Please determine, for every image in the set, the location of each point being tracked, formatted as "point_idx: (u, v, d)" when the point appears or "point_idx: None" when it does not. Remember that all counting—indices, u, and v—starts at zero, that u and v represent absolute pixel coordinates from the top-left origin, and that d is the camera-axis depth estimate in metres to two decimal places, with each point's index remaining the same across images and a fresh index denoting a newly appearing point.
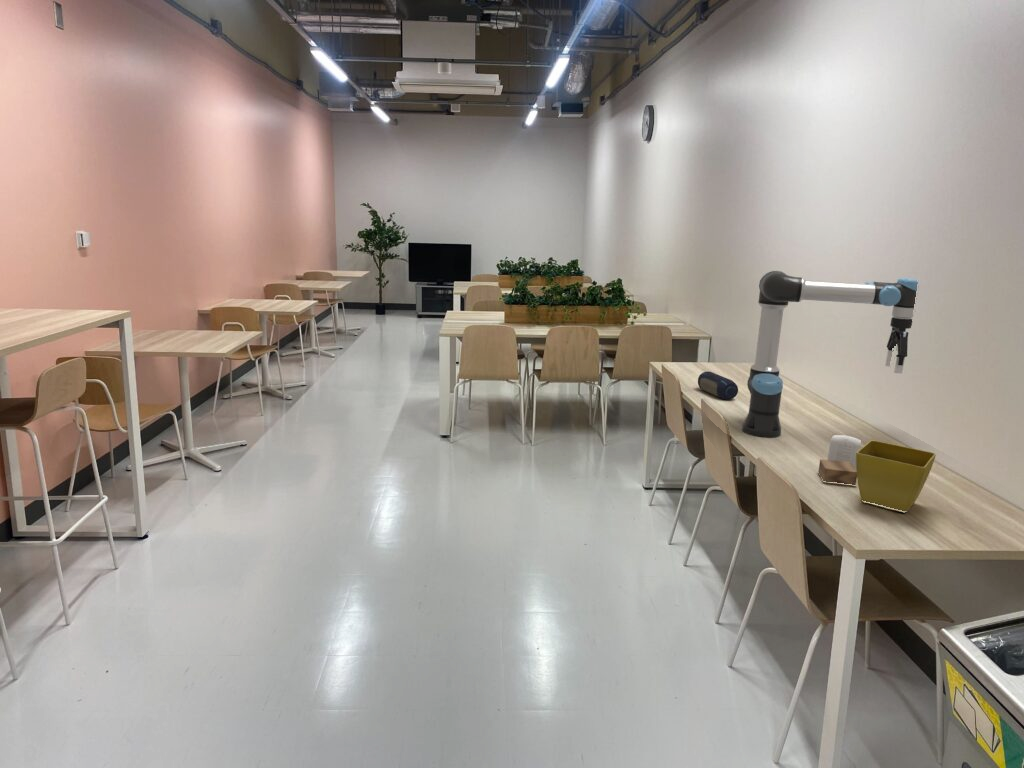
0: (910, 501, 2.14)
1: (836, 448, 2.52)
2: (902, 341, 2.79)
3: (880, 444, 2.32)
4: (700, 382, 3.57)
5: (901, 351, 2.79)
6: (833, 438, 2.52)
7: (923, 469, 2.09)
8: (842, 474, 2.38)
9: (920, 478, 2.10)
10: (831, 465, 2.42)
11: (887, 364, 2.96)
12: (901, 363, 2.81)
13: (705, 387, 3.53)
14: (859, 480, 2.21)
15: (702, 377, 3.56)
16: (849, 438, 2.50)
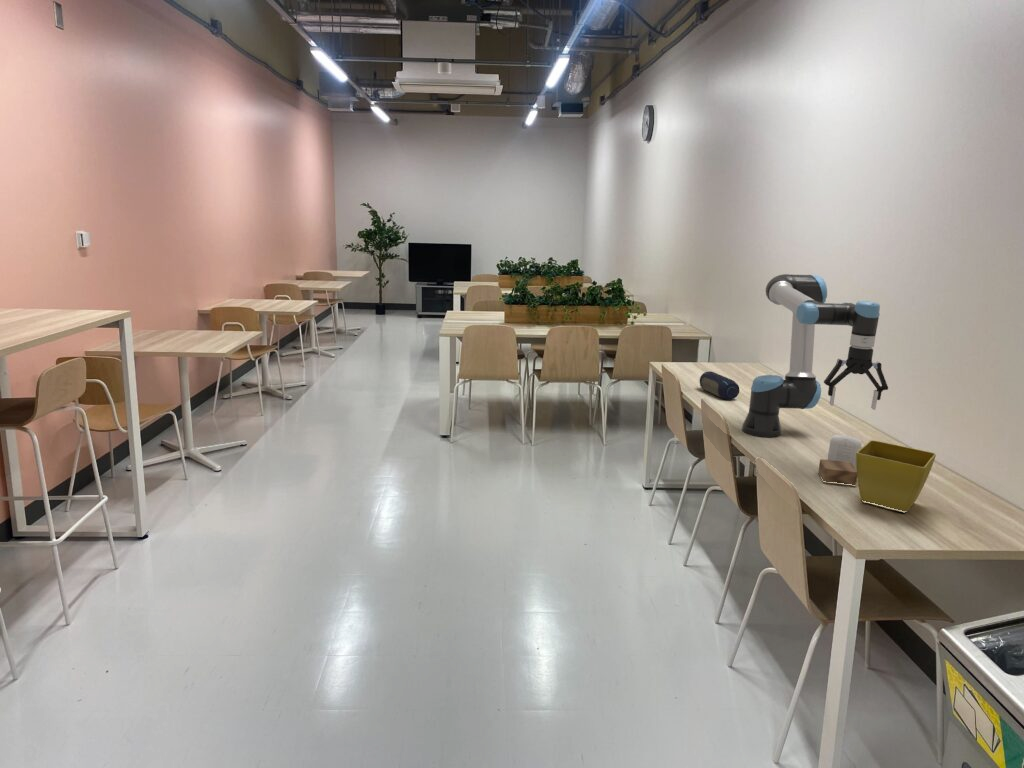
0: (910, 501, 2.14)
1: (836, 448, 2.52)
2: (833, 368, 2.48)
3: (880, 444, 2.32)
4: (702, 382, 3.57)
5: (826, 378, 2.50)
6: (833, 438, 2.52)
7: (923, 469, 2.09)
8: (842, 474, 2.38)
9: (920, 478, 2.10)
10: (831, 465, 2.42)
11: (871, 406, 2.48)
12: (828, 393, 2.49)
13: (707, 387, 3.53)
14: (859, 480, 2.21)
15: (704, 377, 3.56)
16: (849, 438, 2.50)
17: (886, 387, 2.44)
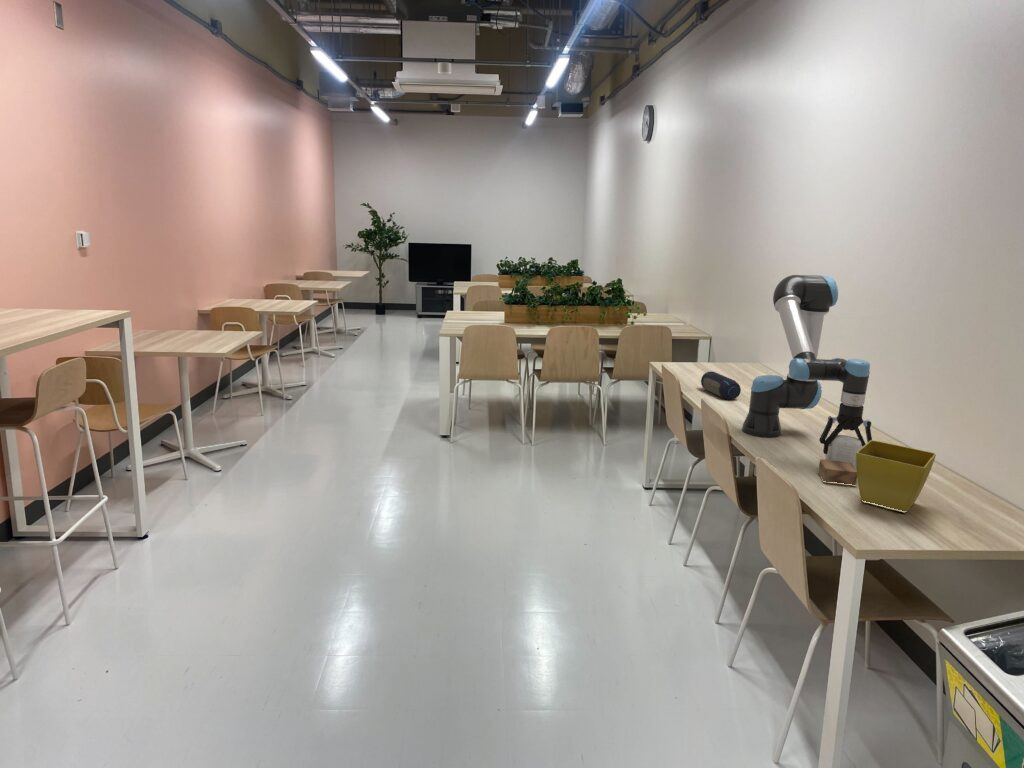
0: (910, 501, 2.14)
1: (836, 448, 2.52)
2: (826, 426, 2.53)
3: (880, 444, 2.32)
4: (703, 382, 3.57)
5: (821, 436, 2.54)
6: None
7: (923, 469, 2.09)
8: (842, 474, 2.38)
9: (920, 478, 2.10)
10: (831, 465, 2.42)
11: None
12: (823, 451, 2.54)
13: (708, 387, 3.54)
14: (859, 480, 2.21)
15: (705, 377, 3.57)
16: (849, 438, 2.50)
17: None
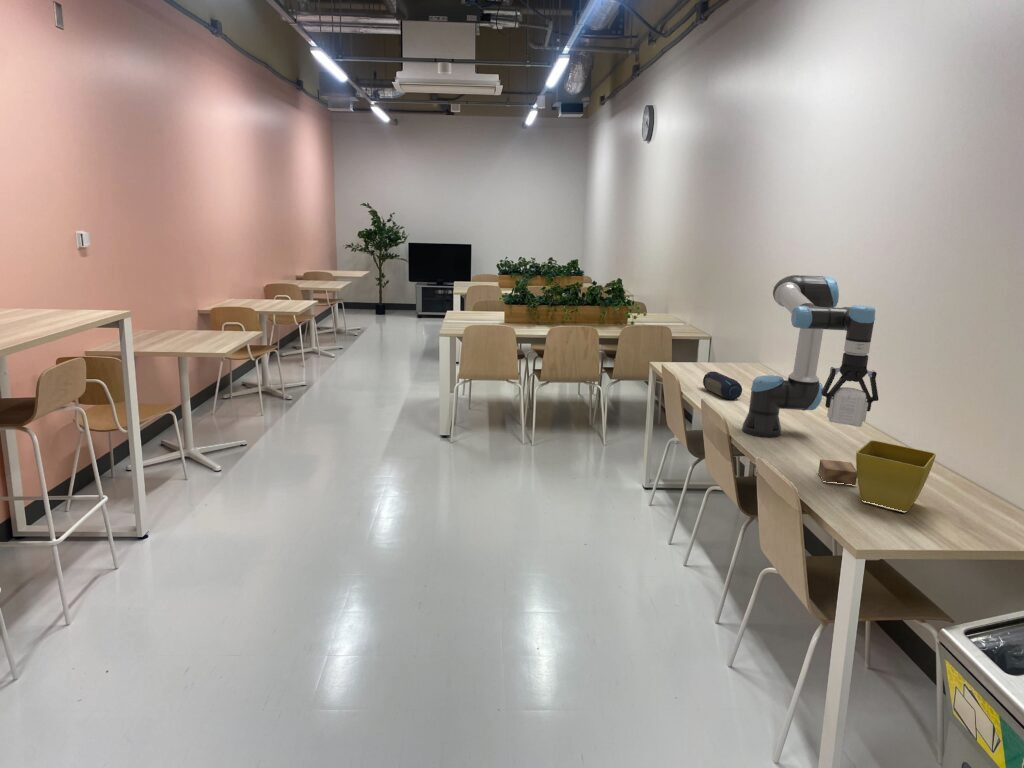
0: (910, 501, 2.14)
1: (839, 401, 2.37)
2: (828, 378, 2.38)
3: (880, 444, 2.32)
4: (705, 382, 3.57)
5: (823, 389, 2.39)
6: None
7: (923, 469, 2.09)
8: (842, 474, 2.38)
9: (920, 478, 2.10)
10: (831, 465, 2.42)
11: None
12: (826, 404, 2.39)
13: (710, 387, 3.54)
14: (859, 480, 2.21)
15: (707, 377, 3.57)
16: (853, 390, 2.35)
17: (876, 398, 2.34)
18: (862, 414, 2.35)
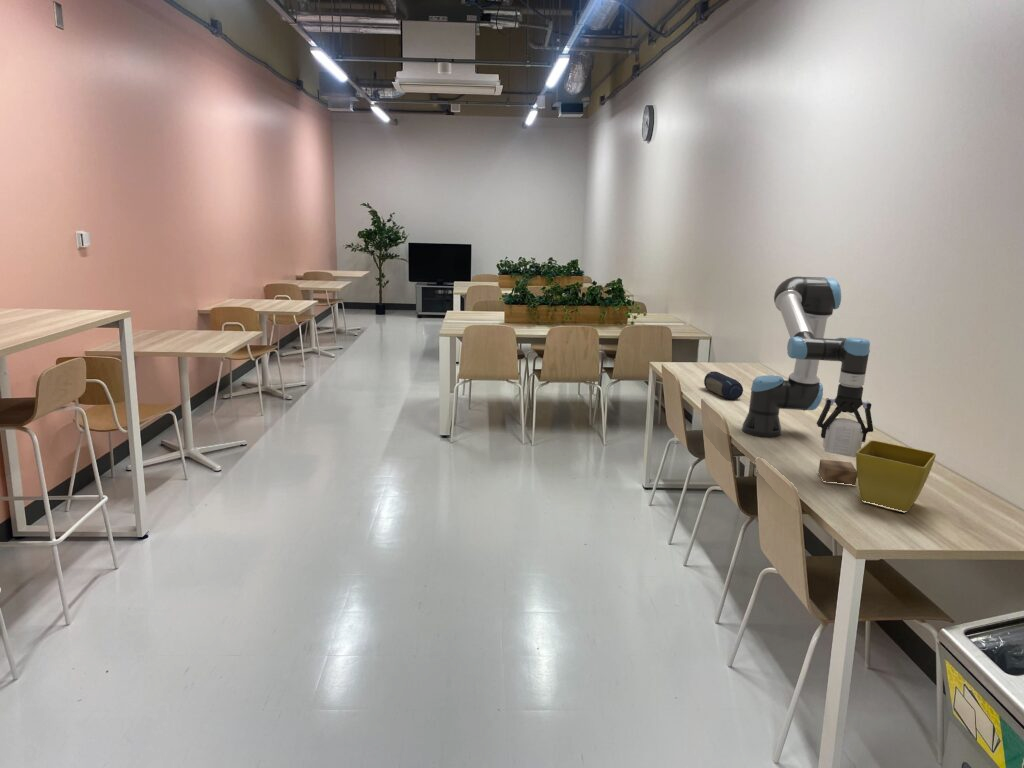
0: (910, 501, 2.14)
1: (835, 432, 2.39)
2: (823, 409, 2.40)
3: (880, 444, 2.32)
4: (706, 382, 3.58)
5: (818, 419, 2.41)
6: None
7: (923, 469, 2.09)
8: (842, 474, 2.38)
9: (920, 478, 2.10)
10: (831, 465, 2.42)
11: None
12: (821, 435, 2.41)
13: (711, 387, 3.54)
14: (859, 480, 2.21)
15: (708, 377, 3.57)
16: (848, 421, 2.37)
17: (871, 429, 2.36)
18: (857, 445, 2.37)
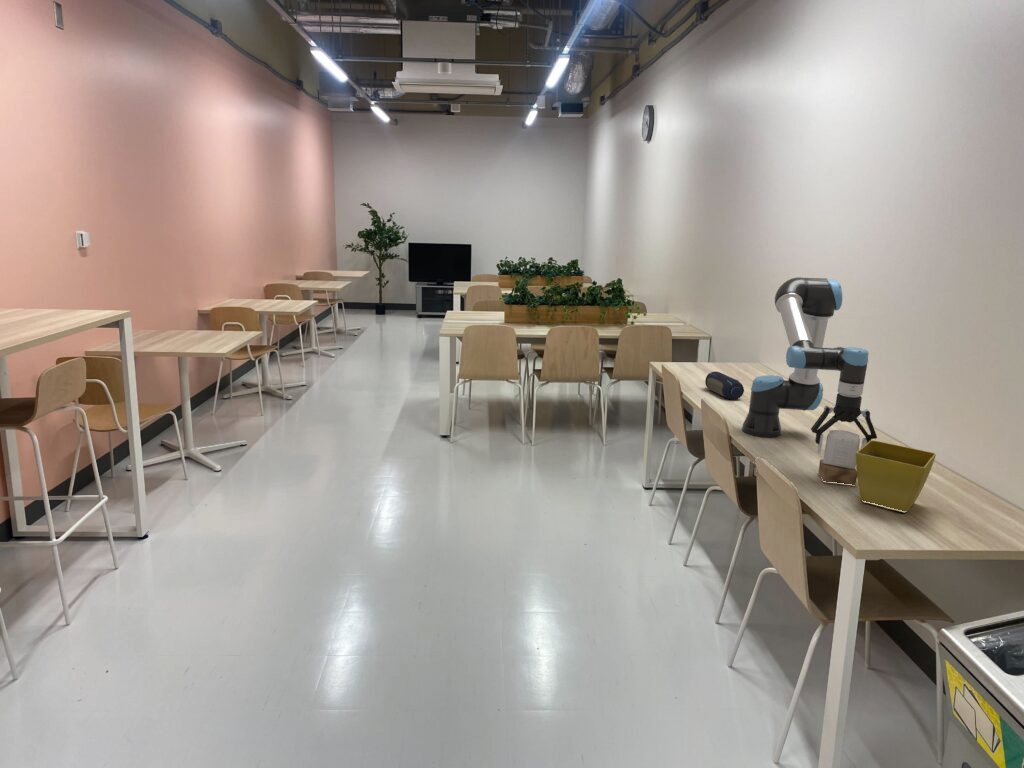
0: (910, 501, 2.14)
1: (833, 444, 2.40)
2: None
3: (880, 444, 2.32)
4: (707, 382, 3.58)
5: (813, 425, 2.42)
6: (830, 433, 2.41)
7: (923, 469, 2.09)
8: (842, 474, 2.38)
9: (920, 478, 2.10)
10: (831, 465, 2.42)
11: None
12: (815, 440, 2.42)
13: (712, 387, 3.54)
14: (859, 480, 2.21)
15: (709, 377, 3.57)
16: (847, 433, 2.38)
17: (875, 436, 2.36)
18: None
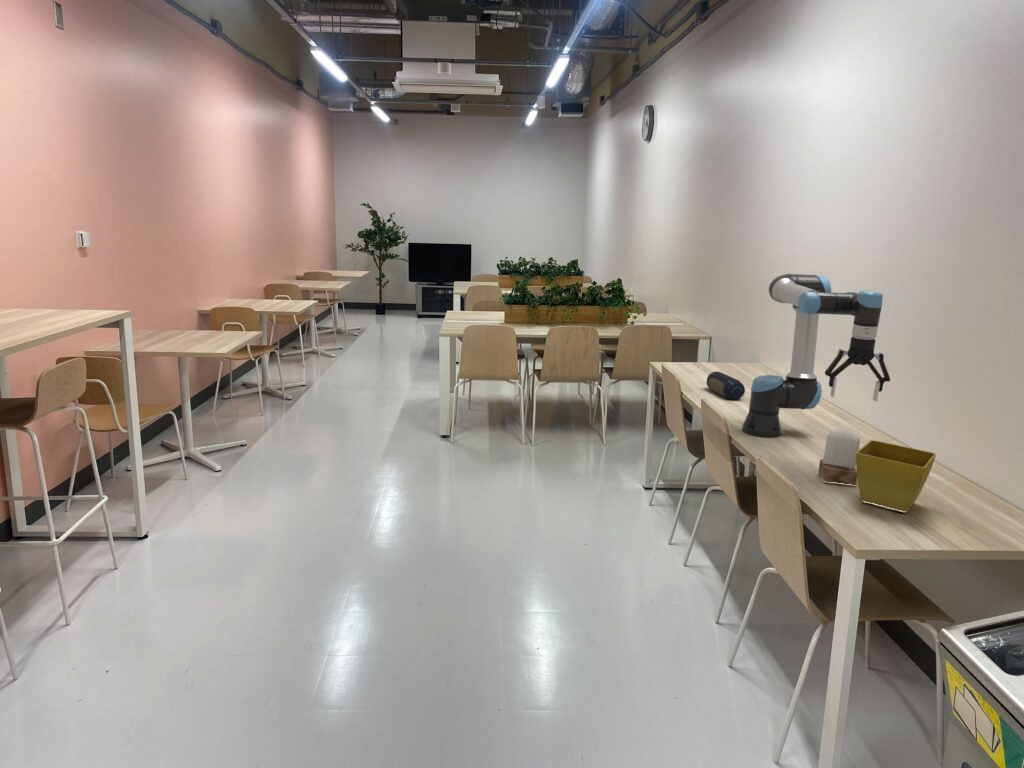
0: (910, 501, 2.14)
1: (833, 444, 2.40)
2: (834, 359, 2.44)
3: (880, 444, 2.32)
4: (708, 382, 3.58)
5: (827, 369, 2.46)
6: (830, 433, 2.41)
7: (923, 469, 2.09)
8: (842, 474, 2.38)
9: (920, 478, 2.10)
10: (831, 465, 2.42)
11: (873, 397, 2.44)
12: (829, 383, 2.46)
13: (713, 387, 3.54)
14: (859, 480, 2.21)
15: (710, 377, 3.57)
16: (847, 433, 2.38)
17: (888, 378, 2.40)
18: None
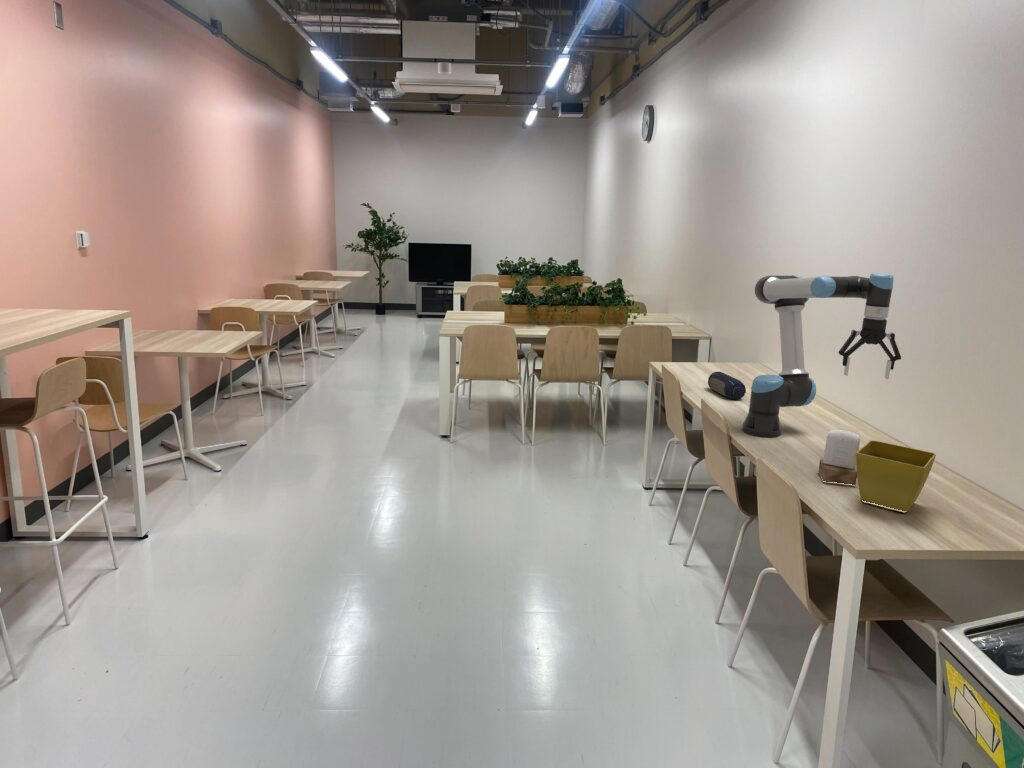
0: (910, 501, 2.14)
1: (833, 444, 2.40)
2: (848, 339, 2.56)
3: (880, 444, 2.32)
4: (710, 382, 3.58)
5: (841, 349, 2.57)
6: (830, 433, 2.41)
7: (923, 469, 2.09)
8: (842, 474, 2.38)
9: (920, 478, 2.10)
10: (831, 465, 2.42)
11: (885, 375, 2.56)
12: (843, 363, 2.57)
13: (714, 387, 3.54)
14: (859, 480, 2.21)
15: (712, 377, 3.57)
16: (847, 433, 2.38)
17: (899, 357, 2.51)
18: None
